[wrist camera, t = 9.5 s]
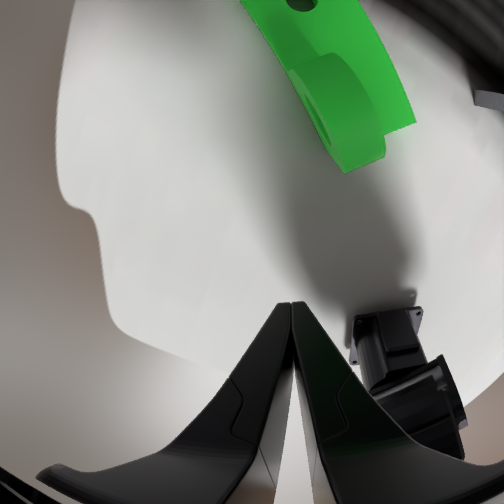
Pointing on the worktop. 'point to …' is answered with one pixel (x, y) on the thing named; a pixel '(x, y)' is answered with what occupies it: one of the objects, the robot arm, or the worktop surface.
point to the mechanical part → (337, 75)
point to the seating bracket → (489, 100)
